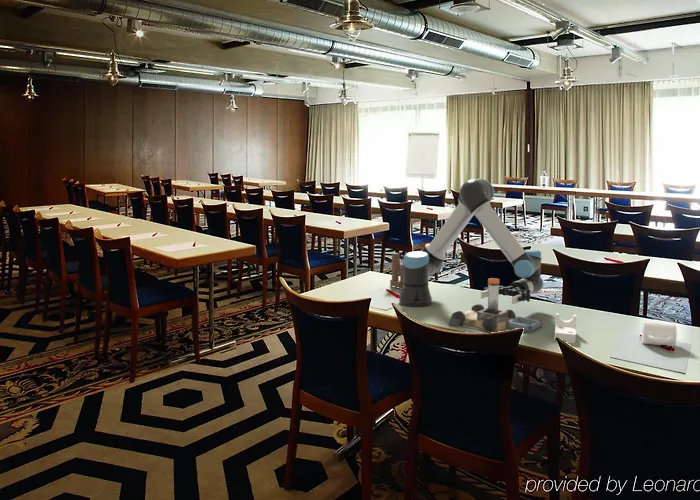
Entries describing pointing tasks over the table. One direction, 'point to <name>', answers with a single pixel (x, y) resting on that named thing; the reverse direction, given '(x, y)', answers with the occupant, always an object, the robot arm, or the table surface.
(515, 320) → the tray
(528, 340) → the table surface
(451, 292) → the table surface
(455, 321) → the chock
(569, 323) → the bracket
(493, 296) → the orange capped tube
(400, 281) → the tan notched upright
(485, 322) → the cart deck
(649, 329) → the white slotted housing
